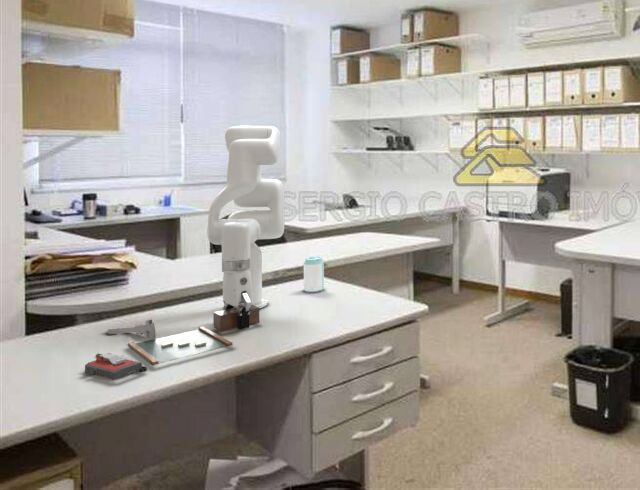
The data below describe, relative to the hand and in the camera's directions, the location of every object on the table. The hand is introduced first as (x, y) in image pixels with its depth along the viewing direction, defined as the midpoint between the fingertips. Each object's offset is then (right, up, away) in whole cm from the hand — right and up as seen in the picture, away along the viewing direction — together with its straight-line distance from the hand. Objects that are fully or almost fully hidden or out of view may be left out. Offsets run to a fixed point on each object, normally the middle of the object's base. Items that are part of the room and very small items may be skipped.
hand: (236, 325), depth 165 cm
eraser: (0, -1, 0) cm, 1 cm away
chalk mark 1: (-10, 0, -17) cm, 20 cm away
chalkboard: (-7, -1, -16) cm, 18 cm away
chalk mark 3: (-2, 0, -17) cm, 17 cm away
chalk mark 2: (-6, 0, -17) cm, 18 cm away
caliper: (-26, -1, -8) cm, 27 cm away
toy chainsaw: (-15, -2, -31) cm, 35 cm away
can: (+8, 0, +44) cm, 45 cm away
